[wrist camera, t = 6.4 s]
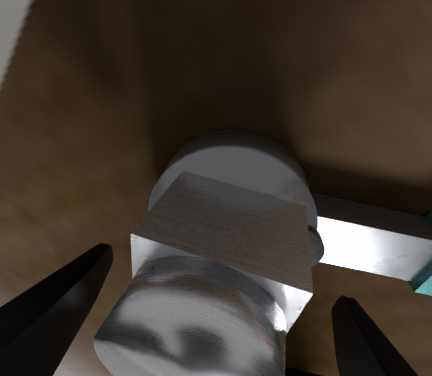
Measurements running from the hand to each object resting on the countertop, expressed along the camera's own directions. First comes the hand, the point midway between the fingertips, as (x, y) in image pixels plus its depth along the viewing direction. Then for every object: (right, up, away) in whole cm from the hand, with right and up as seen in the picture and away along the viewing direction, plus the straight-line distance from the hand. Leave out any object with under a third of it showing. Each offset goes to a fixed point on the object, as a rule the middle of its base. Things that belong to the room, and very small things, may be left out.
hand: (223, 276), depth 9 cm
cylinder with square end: (0, +1, +2) cm, 2 cm away
